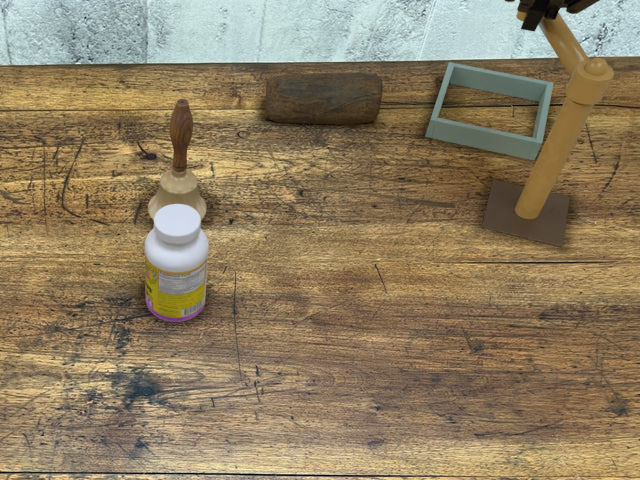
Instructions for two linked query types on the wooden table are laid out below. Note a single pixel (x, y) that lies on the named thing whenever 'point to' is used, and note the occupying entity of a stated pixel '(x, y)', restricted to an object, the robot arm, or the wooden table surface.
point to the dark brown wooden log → (324, 98)
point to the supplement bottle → (176, 264)
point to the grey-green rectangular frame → (486, 136)
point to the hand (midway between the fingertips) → (532, 17)
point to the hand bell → (179, 167)
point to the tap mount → (539, 186)
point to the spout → (576, 62)
